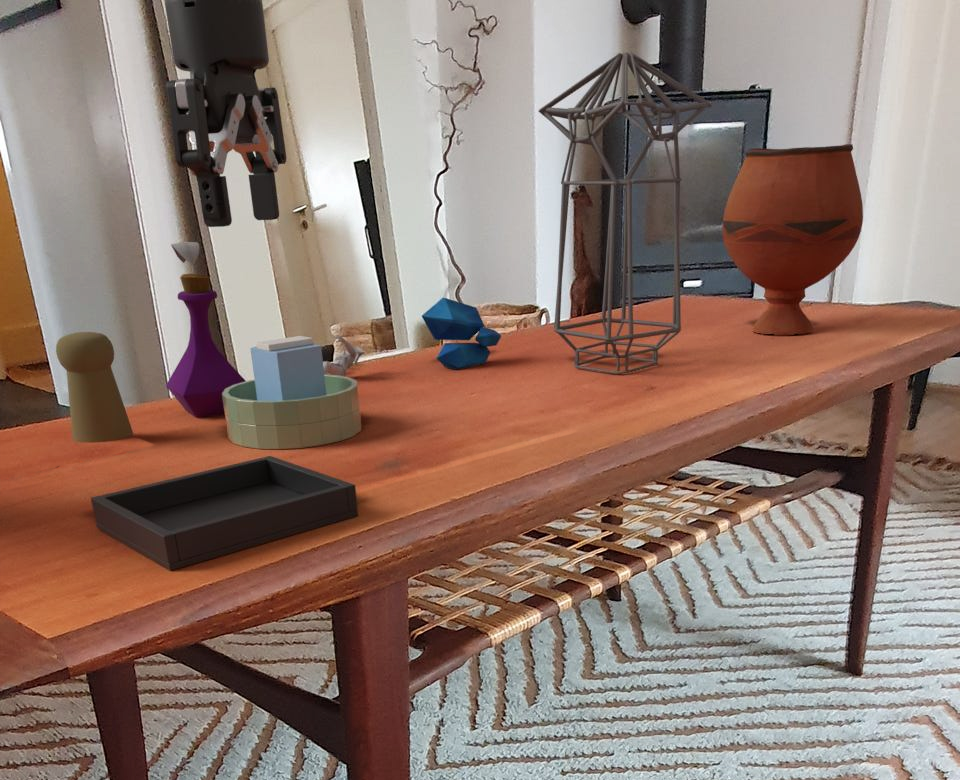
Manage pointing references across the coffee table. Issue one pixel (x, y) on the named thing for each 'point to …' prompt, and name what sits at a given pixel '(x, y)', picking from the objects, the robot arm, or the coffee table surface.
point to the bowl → (292, 416)
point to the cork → (92, 388)
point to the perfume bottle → (200, 347)
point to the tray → (223, 510)
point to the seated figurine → (343, 359)
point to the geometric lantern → (573, 114)
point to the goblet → (792, 225)
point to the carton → (288, 369)
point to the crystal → (459, 333)
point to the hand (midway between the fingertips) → (243, 223)
